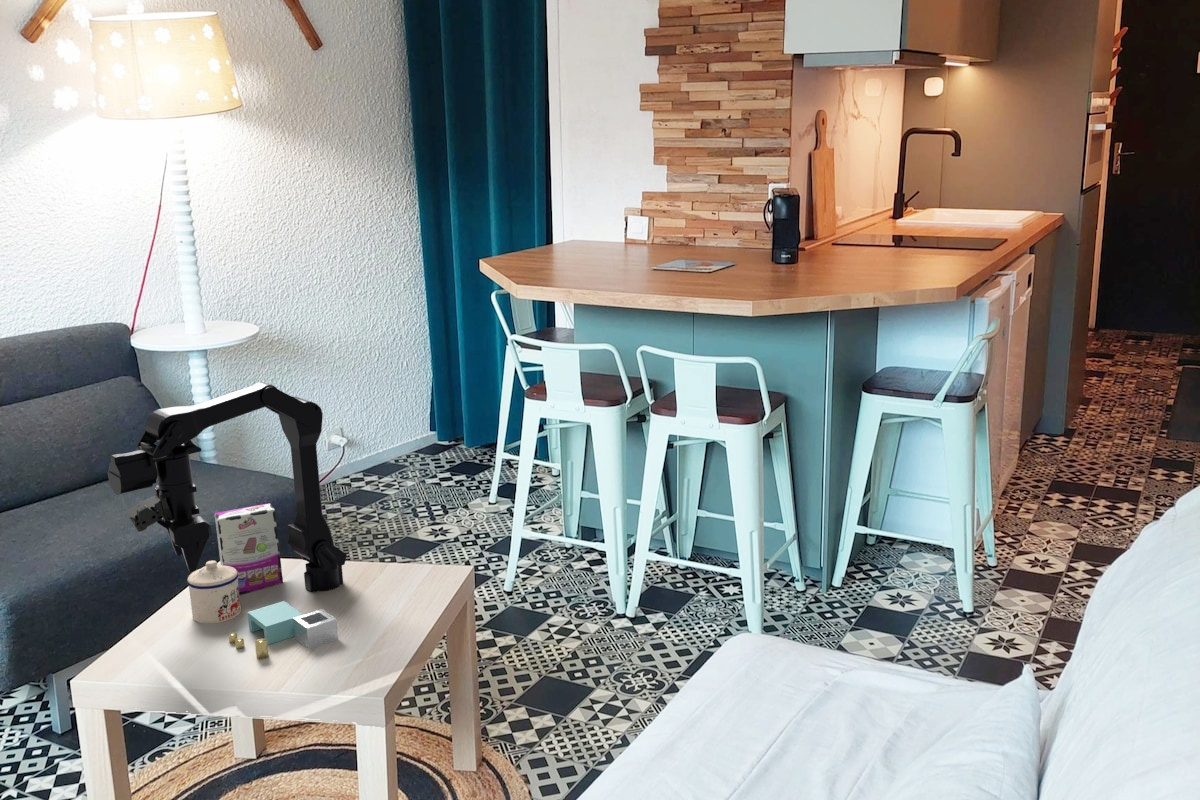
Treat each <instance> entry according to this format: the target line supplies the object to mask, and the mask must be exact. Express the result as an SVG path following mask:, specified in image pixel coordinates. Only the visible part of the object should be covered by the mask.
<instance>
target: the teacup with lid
mask: <svg viewBox="0 0 1200 800" xmlns="http://www.w3.org/2000/svg"><path fill="white" fill-rule="evenodd" d="M186 583H187V585H188V590H189V591H188V592H189V597H190V598H189V599H190V606H191V615H192V619H193V620H194V621H195V622H197V623H200V624H216V623H217V624H218V623H223V622H226V621H229V620H231V619H234V618H236V617H237V616H238V615H239V614H240V613H241V611H242V607H241V600H240V599H241V598H240V594H239V587H238V572H237V570H236V569H235V568H233V567H230V566H224V565H221V564H219V563H218V562H217V561H216V560H208V561H206V563H205V566H203V567H201V568H199V569H196V571H193V572H190V574H189V575H188V577H187V581H186Z"/></svg>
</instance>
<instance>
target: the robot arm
mask: <svg viewBox="0 0 1200 800" xmlns="http://www.w3.org/2000/svg"><path fill="white" fill-rule="evenodd" d="M263 408H266V409H268V411H271V412H273V413H275V414H277V415H278V418H279V422H280V426H281V430H282V432H283V434H284V435H285V437H286V440H287V441H288V443H289V445H290V454H291V463H292V473H293V483H294V486H293V487H294V496H295V497H294V498H295V505H296V517H295V520H294V522H293V523H292V524H291V523H290V524H289V523H288V524H286V528H287V529H286V530H287V533H288V540H287V544H288V545H290V546H291V548H292V551H293V552H294V553H296V554H298V555H300V557H301V560H303V561H306V563H305V571H304V573H303V576H304V588H305V590H307V591H308V592H309V593H317V592H327V591H332V590H335V589H337V588H339V587H340V585H343V584H344V575H343V566H344V565H345V564H346V559H347V553H346V552H344V551H343V550H341V549H339V548H338V547H337V546H335V542H334V539H333V535H332V532H331V528H330V526H329V524H328V523H327V520H326V519H325V516H324V515H323V505H322V504H323V503H322V497H321V495H322V494H321V486H320V485H321V482H320V473H319V461H318V450H317V443H318V441H319V439H320V436H321V434H322V432H323V431H322V429H323V419H324V418H323V415H324V414H323V410H322V408H321V406H319V405H318V404H317V403H316V402H313V401H310V400H306V399H305V398H301V397H298V396H292V395H289V394H287V393H285V392H283V390H280V389H279V388H277V387H276V386H275V385H272V384H269V383H266V382H262V381H260V382H255V383H254V384H252V385H251V386H248V387H245V388H242V389H239V390H236V391H232V392H230V393H227V394H224V395H220V396H219V397H215V398H213V399H210V400H207V401H204V402H201V403H198V404H194V405H179V406H177V405H176V406H171V407H169V406H168V407H164V408H158V409H156V410H154V411H152V412H151V413H150V414H149V416H148V417H147V420H146V423H145V429H144V431H143V433H142V435H141V437H140V438H139V440H138V442H137V444H136V446H135V449H136V450H134V451H130V452H126V453H116V454H111V455H110V462H109V464H108V465H109V466H108V471H107V477H108V481H109V485H110V487H111V490H112V491H113V493H114V494H115V495H117V496H120V495H124V494H128V493H132V492H136V491H137V492H138V491H141V490H145V489H149V488H152V487H153V485H154V484H157V485H155V488H154V495H153V496H150V497H147V498H145V499H143V500H142V501H139V502H138V503H136V504H134V505H133V506H131V507H129V508H128V509H126V510H125V514H126V516H127V517H128V519H129V521H130V523H131V524H132V525H133V527H134V529H135V530H136V531H137V532H139V533H141V532H144V531H145V530H147V529H148V527H150V526H151V525H153V524H155V523H157V524H158V525H160V526H161V527H163V528H165V529H166V532H167V534H168V537H169V539H170V542H171V545H172V547H173V550H174V552H175V554H176V556H177V557H178V556H183V558H184V560H185V564H186V566H187V569H188V572H189V573H193V572H194V571H196V570H198V569H197V568H198V566H199V563H200V560H201V557H202V554H203V552H204V549H205V547H206V544H207V543H208V540H209V539H210V537H211V536H213V535H212V533H213V532H212V526H211V524H210V523H209V522H208V521H207V520H206V519H205V518H203V517H202V516H199V515H198V514H200V508H199V507H198V506H197V503H196V497H195V496H196V495H195V493H197V490H198V489H197V486H196V484H195V483H194V481H193V479H194V478H193V472H192V471H193V470H192V464H191V458H190V457H191V454H197V453H200V452H202V448H201V447H200V446H197V445H196V444H195V443H194V442H193V441H192V440H194V439H195V438H197V437H198V436H199V435H200V434H201V433H202V432H203V431H205V430H206V429H208V428H209V427H212V426H215V425H218V424H221V423H223V422H227V421H229V420H232V419H235V418H238V417H240V416H243V415H246V414H248V413H252V412H255V411H258V410H260V409H263ZM156 442H158V443H157V445H156V444H155V443H156ZM195 515H198V516H195Z"/></svg>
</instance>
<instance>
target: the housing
mask: <svg viewBox="0 0 1200 800" xmlns="http://www.w3.org/2000/svg"><path fill="white" fill-rule="evenodd" d="M301 615H304V614H303V613H301V611H299V610H297V609H296V608H295V607H293V606H292V605H290V604H289V603H288V602H286V601H285V600H283V601H279V602H276V603H272V604H269V605H266V606H263V607H260V608H257V609H254V610H250V611H247V620H248V629H249V631H250V633H253V632H257V631H259V630H262V629H263V635H264V639H267V644H268V646H269V645H272V644H276V643H278V642H281V641H284V640H287V639H290V638H291V639H292V638H295V636H294V626H293V618H295V617H298V616H301Z"/></svg>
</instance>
